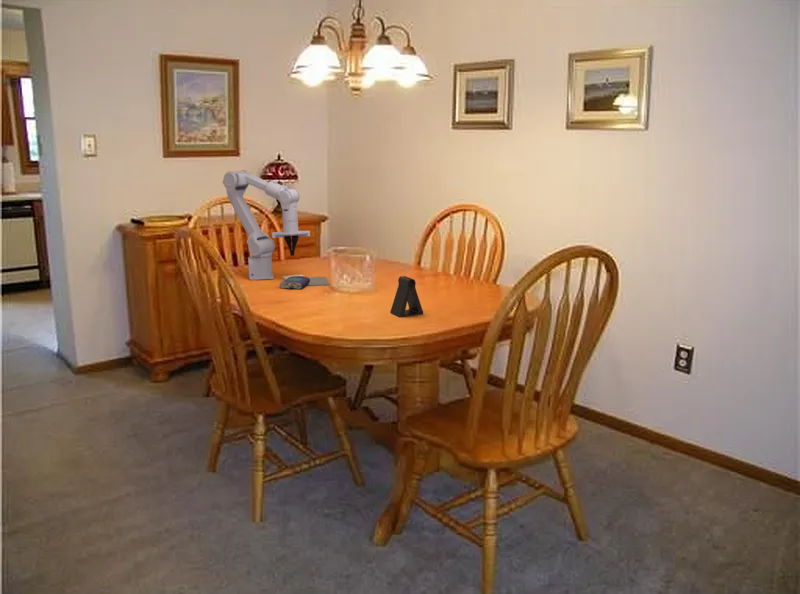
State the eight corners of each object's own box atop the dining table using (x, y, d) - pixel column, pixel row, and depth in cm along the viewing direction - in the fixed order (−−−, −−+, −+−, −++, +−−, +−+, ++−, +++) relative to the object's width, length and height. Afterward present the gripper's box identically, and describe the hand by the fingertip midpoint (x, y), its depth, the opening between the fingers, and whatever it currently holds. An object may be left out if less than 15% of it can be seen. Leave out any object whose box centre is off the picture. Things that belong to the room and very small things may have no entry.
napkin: (285, 280, 272) (285, 279, 272) (282, 277, 277) (282, 276, 277) (305, 278, 275) (305, 277, 275) (301, 275, 280) (301, 274, 280)
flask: (287, 282, 266) (277, 289, 256) (287, 275, 266) (276, 282, 256) (310, 283, 264) (300, 290, 254) (310, 276, 264) (300, 282, 254)
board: (308, 286, 262) (308, 285, 262) (305, 278, 275) (305, 277, 275) (329, 285, 264) (329, 284, 263) (325, 277, 277) (325, 276, 277)
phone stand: (413, 309, 228) (414, 274, 225) (423, 313, 223) (423, 277, 220) (390, 313, 223) (390, 277, 221) (399, 317, 218) (399, 280, 216)
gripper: (271, 222, 259) (273, 257, 262) (309, 220, 262) (311, 255, 265) (271, 220, 266) (273, 255, 269) (308, 218, 269) (310, 253, 272)
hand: (292, 255), depth 268 cm, fingers closed
